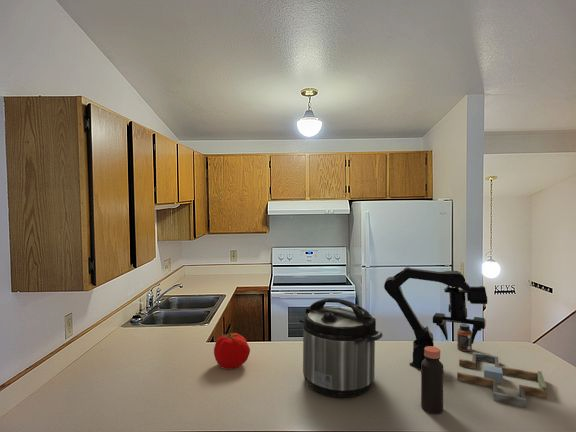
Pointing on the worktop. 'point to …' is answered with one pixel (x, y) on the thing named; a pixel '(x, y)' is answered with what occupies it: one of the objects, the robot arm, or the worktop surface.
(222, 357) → the tomato
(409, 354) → the worktop surface
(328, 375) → the pressure cooker
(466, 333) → the supplement bottle
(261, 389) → the worktop surface
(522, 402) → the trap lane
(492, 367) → the block
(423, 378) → the vinegar
